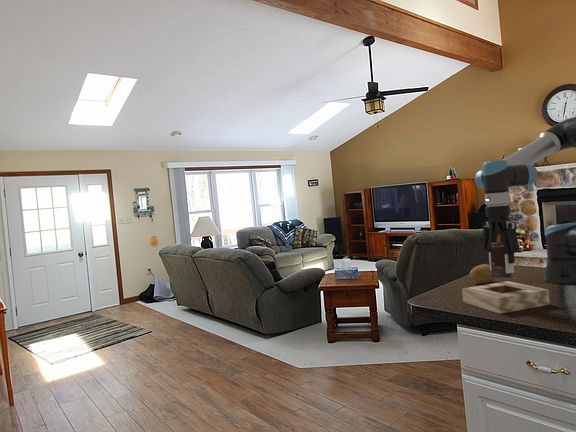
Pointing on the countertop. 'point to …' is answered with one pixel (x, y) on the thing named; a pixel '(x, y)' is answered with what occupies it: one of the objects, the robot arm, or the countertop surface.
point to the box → (498, 260)
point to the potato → (481, 274)
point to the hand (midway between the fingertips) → (501, 271)
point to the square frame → (505, 297)
